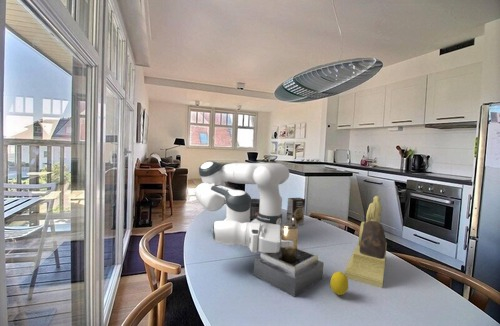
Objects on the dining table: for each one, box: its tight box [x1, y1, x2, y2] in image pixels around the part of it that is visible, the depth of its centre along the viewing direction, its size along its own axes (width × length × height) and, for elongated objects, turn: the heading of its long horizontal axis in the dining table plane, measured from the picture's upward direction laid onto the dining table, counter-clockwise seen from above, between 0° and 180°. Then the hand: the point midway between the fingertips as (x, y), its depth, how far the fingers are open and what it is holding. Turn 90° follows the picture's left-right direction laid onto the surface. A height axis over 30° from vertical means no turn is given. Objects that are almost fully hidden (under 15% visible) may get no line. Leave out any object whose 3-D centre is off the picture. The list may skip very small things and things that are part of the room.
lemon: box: [329, 271, 349, 297], centre depth 84 cm, size 6×6×8 cm
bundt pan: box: [250, 198, 260, 221], centre depth 172 cm, size 26×26×10 cm
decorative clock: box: [343, 195, 388, 289], centre depth 105 cm, size 28×13×30 cm, turn 150°
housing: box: [253, 247, 324, 298], centre depth 95 cm, size 18×18×8 cm
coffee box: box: [285, 197, 306, 226], centre depth 160 cm, size 9×6×16 cm
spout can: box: [281, 217, 299, 263], centre depth 94 cm, size 6×6×16 cm
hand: (292, 238), depth 94 cm, fingers open, 8 cm apart
